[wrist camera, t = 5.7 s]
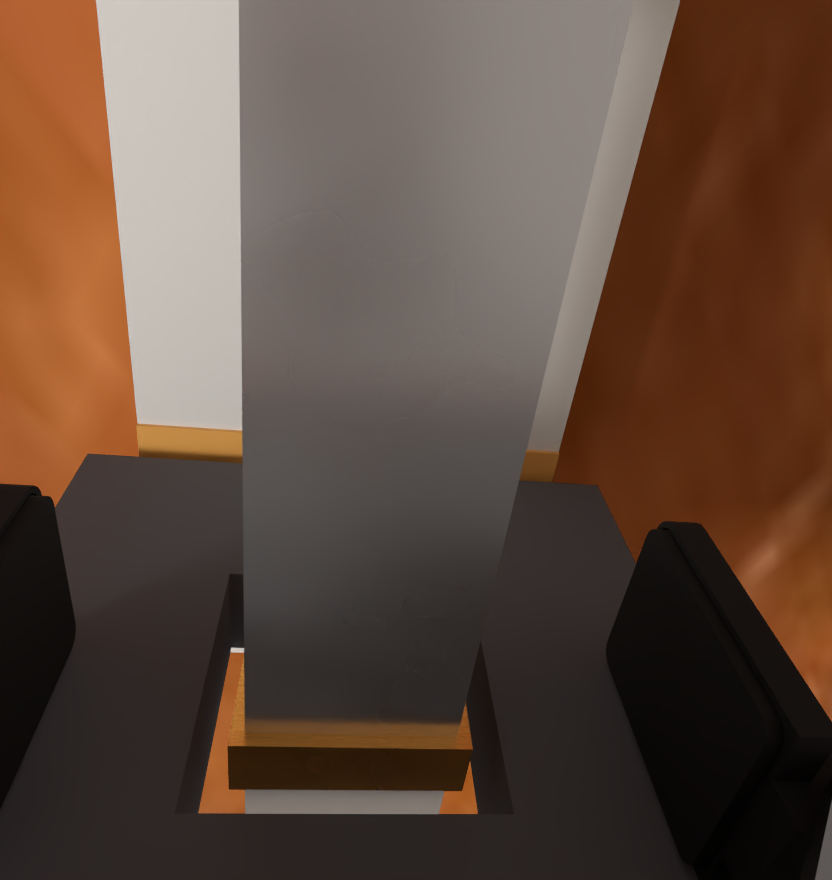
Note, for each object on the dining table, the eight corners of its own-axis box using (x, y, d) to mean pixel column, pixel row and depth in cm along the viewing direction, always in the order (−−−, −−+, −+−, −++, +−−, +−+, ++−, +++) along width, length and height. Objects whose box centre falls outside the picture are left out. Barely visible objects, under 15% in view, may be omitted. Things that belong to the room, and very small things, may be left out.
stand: (95, -318, 11) (-175, -647, 5) (701, -202, 12) (986, -374, 7) (171, 611, 21) (106, 823, 16) (494, 623, 22) (538, 824, 17)
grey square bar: (264, -440, 6) (182, -826, 3) (630, -362, 7) (839, -644, 4) (256, 803, 16) (234, 977, 13) (404, 803, 16) (413, 973, 14)
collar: (88, 453, 16) (-401, 1259, 6) (597, 485, 17) (936, 1171, 7) (98, 523, 17) (-301, 1311, 7) (577, 547, 18) (850, 1225, 8)
